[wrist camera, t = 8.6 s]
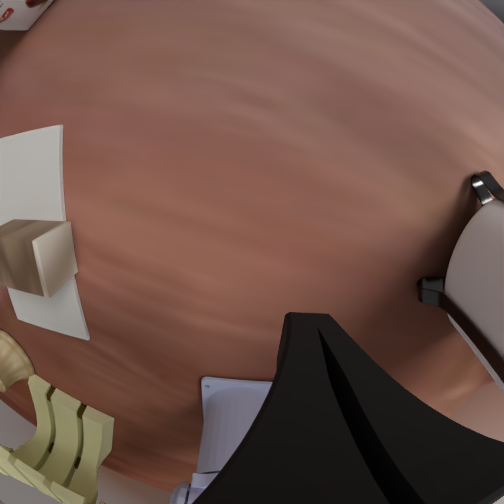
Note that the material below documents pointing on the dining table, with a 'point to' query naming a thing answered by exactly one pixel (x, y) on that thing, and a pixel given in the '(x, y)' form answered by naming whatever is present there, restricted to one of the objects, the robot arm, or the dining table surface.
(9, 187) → the felt mat
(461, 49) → the dining table surface
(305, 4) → the dining table surface
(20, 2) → the juice carton
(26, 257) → the walnut block
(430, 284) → the coffee press
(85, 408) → the slatted curved stool
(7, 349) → the hand bell
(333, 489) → the robot arm
